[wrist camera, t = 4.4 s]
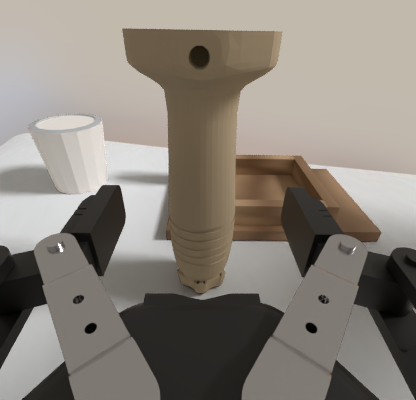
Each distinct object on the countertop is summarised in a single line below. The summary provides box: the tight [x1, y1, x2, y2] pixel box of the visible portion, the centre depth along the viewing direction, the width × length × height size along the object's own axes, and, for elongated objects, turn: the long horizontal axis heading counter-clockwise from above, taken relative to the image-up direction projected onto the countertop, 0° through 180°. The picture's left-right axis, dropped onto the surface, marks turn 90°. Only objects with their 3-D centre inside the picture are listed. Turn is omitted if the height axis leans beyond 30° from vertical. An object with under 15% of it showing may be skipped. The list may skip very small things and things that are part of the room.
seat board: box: [166, 155, 381, 241], centre depth 25 cm, size 18×12×8 cm, turn 90°
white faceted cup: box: [28, 114, 108, 194], centre depth 29 cm, size 7×7×7 cm
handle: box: [123, 29, 282, 293], centre depth 15 cm, size 5×6×15 cm
